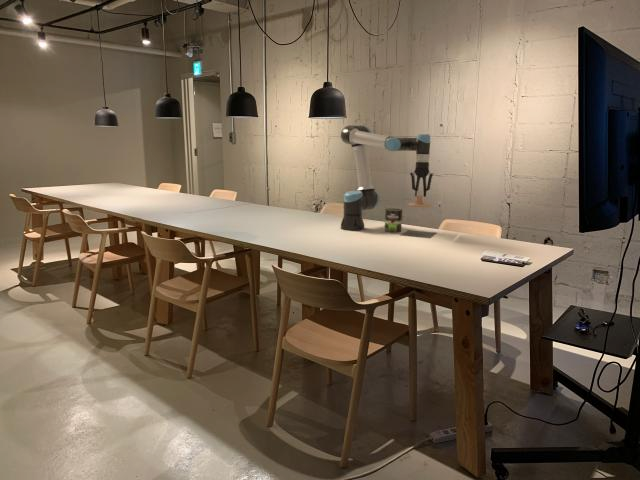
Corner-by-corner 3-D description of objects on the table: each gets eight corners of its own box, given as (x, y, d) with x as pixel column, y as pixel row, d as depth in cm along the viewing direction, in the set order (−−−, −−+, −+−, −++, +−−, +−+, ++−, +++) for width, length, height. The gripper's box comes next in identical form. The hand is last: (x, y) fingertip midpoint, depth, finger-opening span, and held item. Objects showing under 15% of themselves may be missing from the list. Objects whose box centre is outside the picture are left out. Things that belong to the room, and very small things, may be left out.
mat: (399, 236, 279) (399, 235, 279) (408, 230, 295) (408, 230, 295) (430, 239, 272) (430, 238, 272) (437, 233, 288) (437, 232, 288)
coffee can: (400, 234, 284) (401, 211, 281) (383, 233, 287) (384, 210, 284) (402, 231, 294) (403, 208, 291) (385, 230, 296) (386, 208, 293)
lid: (406, 206, 277) (406, 195, 276) (412, 203, 288) (412, 193, 287) (428, 207, 271) (429, 197, 270) (433, 204, 283) (434, 194, 282)
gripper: (407, 161, 274) (405, 201, 279) (434, 162, 268) (431, 203, 273) (411, 160, 281) (409, 200, 286) (437, 161, 274) (434, 202, 280)
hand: (420, 201), depth 280 cm, fingers closed on lid, 2 cm apart
